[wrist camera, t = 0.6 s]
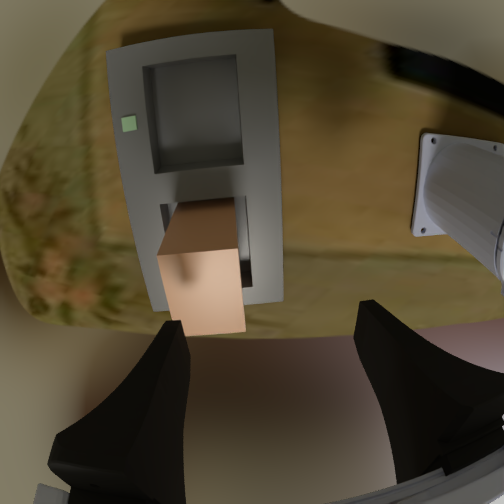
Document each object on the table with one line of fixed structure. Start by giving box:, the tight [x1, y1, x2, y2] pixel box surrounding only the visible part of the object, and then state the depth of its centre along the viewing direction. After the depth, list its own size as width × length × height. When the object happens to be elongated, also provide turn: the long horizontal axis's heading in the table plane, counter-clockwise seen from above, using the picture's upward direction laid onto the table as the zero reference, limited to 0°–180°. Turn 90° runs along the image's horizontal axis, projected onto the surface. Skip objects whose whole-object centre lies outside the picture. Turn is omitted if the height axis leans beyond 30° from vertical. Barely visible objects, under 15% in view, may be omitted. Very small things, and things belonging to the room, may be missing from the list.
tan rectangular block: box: [157, 197, 246, 336], centre depth 18 cm, size 4×5×7 cm
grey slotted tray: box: [106, 29, 283, 311], centre depth 18 cm, size 9×17×3 cm, turn 4°
